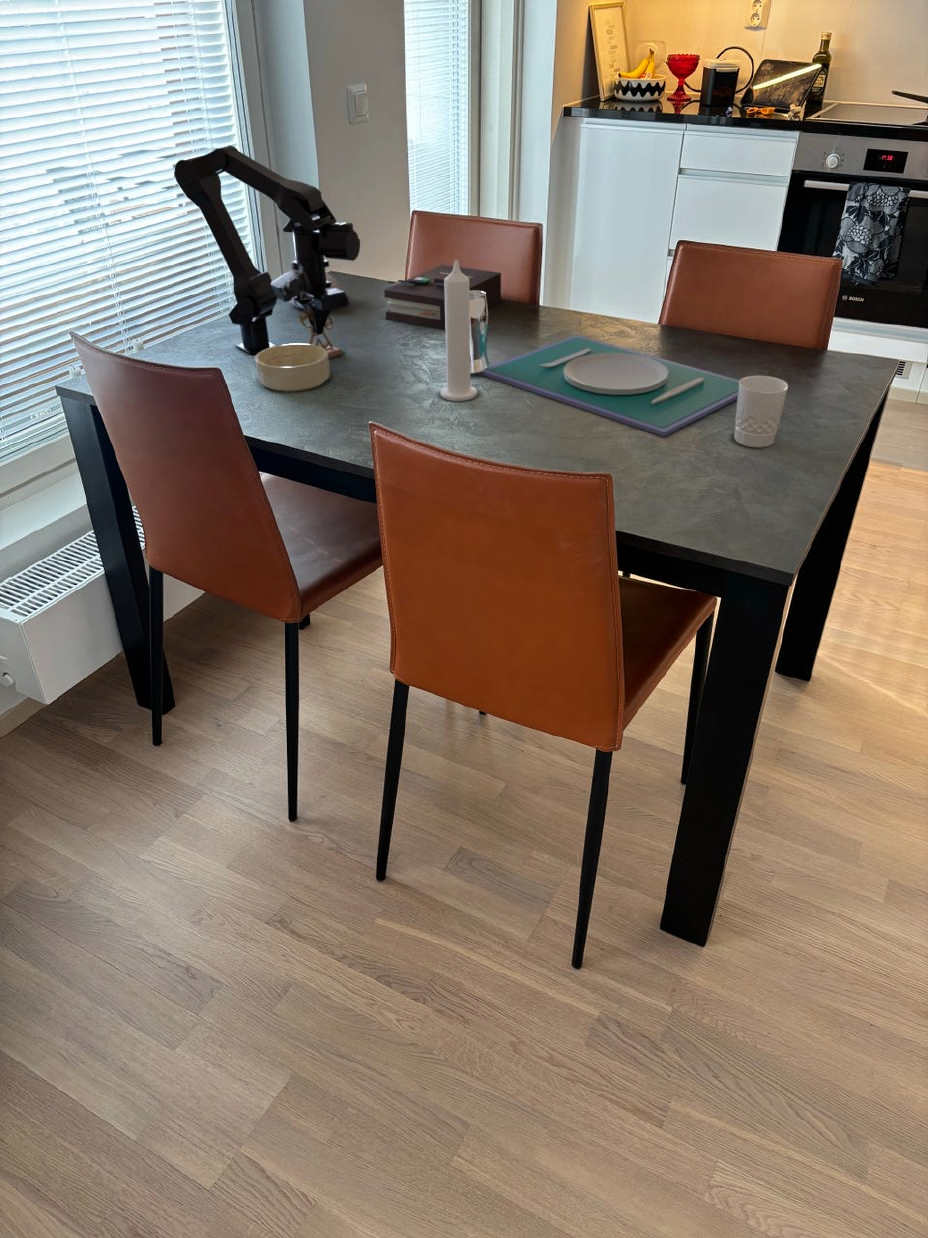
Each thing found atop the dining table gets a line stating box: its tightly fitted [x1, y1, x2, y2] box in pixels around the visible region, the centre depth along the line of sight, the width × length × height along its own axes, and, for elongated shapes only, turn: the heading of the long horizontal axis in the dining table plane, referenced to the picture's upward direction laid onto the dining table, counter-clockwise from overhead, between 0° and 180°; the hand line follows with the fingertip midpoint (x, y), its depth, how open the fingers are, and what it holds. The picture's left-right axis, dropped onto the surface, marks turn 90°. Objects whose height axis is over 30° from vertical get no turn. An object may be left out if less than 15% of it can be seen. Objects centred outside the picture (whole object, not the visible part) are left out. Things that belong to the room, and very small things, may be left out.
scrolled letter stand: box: [298, 300, 342, 359], centre depth 196 cm, size 9×4×12 cm, turn 136°
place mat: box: [480, 334, 741, 437], centre depth 184 cm, size 45×30×2 cm
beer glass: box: [469, 290, 490, 375], centre depth 187 cm, size 7×7×15 cm
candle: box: [439, 259, 478, 402], centre depth 174 cm, size 7×7×25 cm
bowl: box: [254, 342, 331, 392], centre depth 187 cm, size 14×14×5 cm
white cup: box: [733, 375, 789, 448], centre depth 159 cm, size 8×8×10 cm
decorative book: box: [383, 264, 502, 330], centre depth 224 cm, size 19×8×30 cm
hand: (317, 333), depth 197 cm, fingers closed on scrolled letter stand
